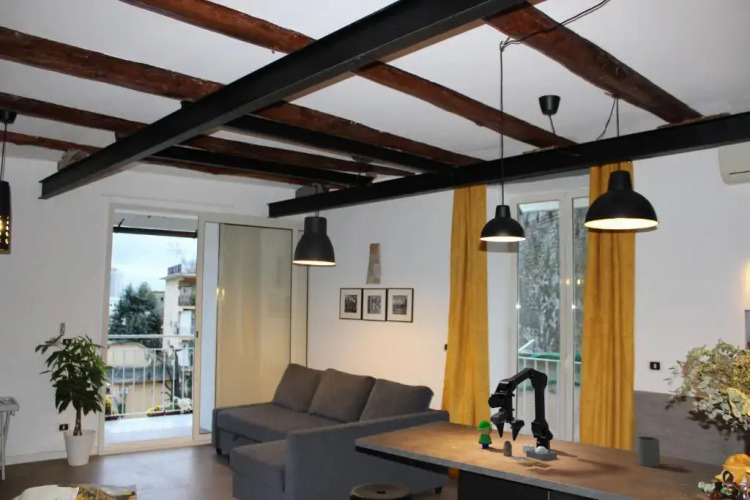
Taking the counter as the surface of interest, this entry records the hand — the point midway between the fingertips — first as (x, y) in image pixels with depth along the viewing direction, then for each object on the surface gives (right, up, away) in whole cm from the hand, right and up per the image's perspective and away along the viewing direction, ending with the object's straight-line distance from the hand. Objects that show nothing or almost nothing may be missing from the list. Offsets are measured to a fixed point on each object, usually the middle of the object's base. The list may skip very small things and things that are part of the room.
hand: (507, 439), depth 305 cm
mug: (+65, -8, -13) cm, 67 cm away
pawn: (0, -8, -1) cm, 8 cm away
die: (+12, -9, +5) cm, 15 cm away
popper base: (+15, -8, -4) cm, 18 cm away
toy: (-8, -11, +18) cm, 22 cm away
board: (+9, -9, -3) cm, 13 cm away
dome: (+15, -8, -5) cm, 18 cm away
